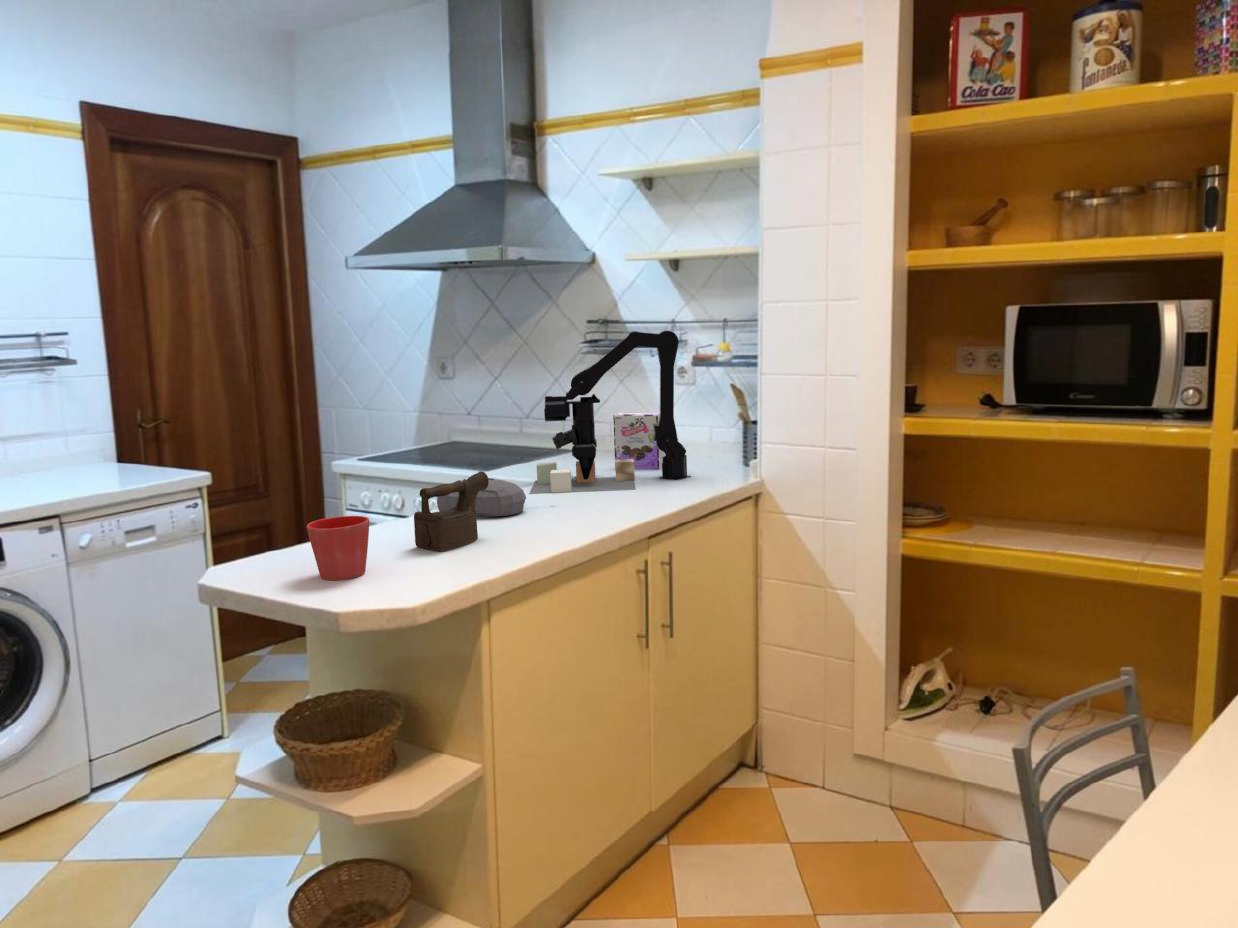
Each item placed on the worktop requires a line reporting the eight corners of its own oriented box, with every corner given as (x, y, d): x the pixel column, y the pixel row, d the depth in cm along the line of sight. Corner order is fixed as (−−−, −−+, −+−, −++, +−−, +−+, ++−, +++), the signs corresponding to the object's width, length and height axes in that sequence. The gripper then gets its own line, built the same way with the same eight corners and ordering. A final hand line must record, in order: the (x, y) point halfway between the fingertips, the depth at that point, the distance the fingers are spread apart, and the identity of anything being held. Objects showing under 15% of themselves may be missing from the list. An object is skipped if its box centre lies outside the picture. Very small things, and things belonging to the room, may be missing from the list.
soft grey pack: (430, 518, 219) (509, 521, 212) (428, 482, 218) (507, 484, 211) (463, 505, 233) (537, 508, 226) (461, 472, 232) (536, 473, 225)
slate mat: (633, 478, 263) (633, 476, 263) (635, 491, 242) (635, 489, 242) (535, 482, 263) (535, 480, 263) (529, 495, 242) (528, 493, 242)
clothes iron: (500, 537, 196) (496, 472, 194) (437, 553, 184) (433, 484, 182) (475, 533, 201) (471, 469, 199) (412, 548, 189) (408, 481, 187)
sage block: (557, 480, 261) (556, 462, 261) (556, 483, 256) (555, 464, 256) (538, 481, 261) (537, 462, 261) (537, 484, 256) (536, 465, 256)
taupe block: (571, 488, 247) (570, 469, 247) (570, 491, 243) (569, 472, 242) (552, 489, 247) (551, 470, 247) (551, 492, 242) (550, 473, 242)
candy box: (614, 470, 278) (612, 414, 276) (621, 467, 283) (619, 412, 281) (659, 471, 273) (657, 414, 270) (666, 468, 278) (664, 412, 276)
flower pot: (297, 581, 167) (292, 526, 166) (337, 565, 177) (332, 514, 176) (348, 585, 163) (343, 529, 162) (385, 568, 173) (381, 516, 172)
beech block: (634, 477, 261) (633, 459, 261) (634, 480, 256) (633, 461, 256) (615, 478, 261) (615, 459, 261) (615, 480, 256) (615, 462, 256)
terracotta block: (595, 478, 261) (594, 460, 261) (595, 481, 256) (594, 463, 256) (577, 479, 261) (576, 461, 261) (576, 482, 256) (575, 464, 256)
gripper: (555, 418, 266) (558, 473, 268) (551, 425, 247) (554, 484, 249) (595, 416, 266) (597, 471, 268) (594, 423, 247) (597, 483, 249)
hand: (586, 477), depth 259 cm, fingers closed on terracotta block, 5 cm apart
